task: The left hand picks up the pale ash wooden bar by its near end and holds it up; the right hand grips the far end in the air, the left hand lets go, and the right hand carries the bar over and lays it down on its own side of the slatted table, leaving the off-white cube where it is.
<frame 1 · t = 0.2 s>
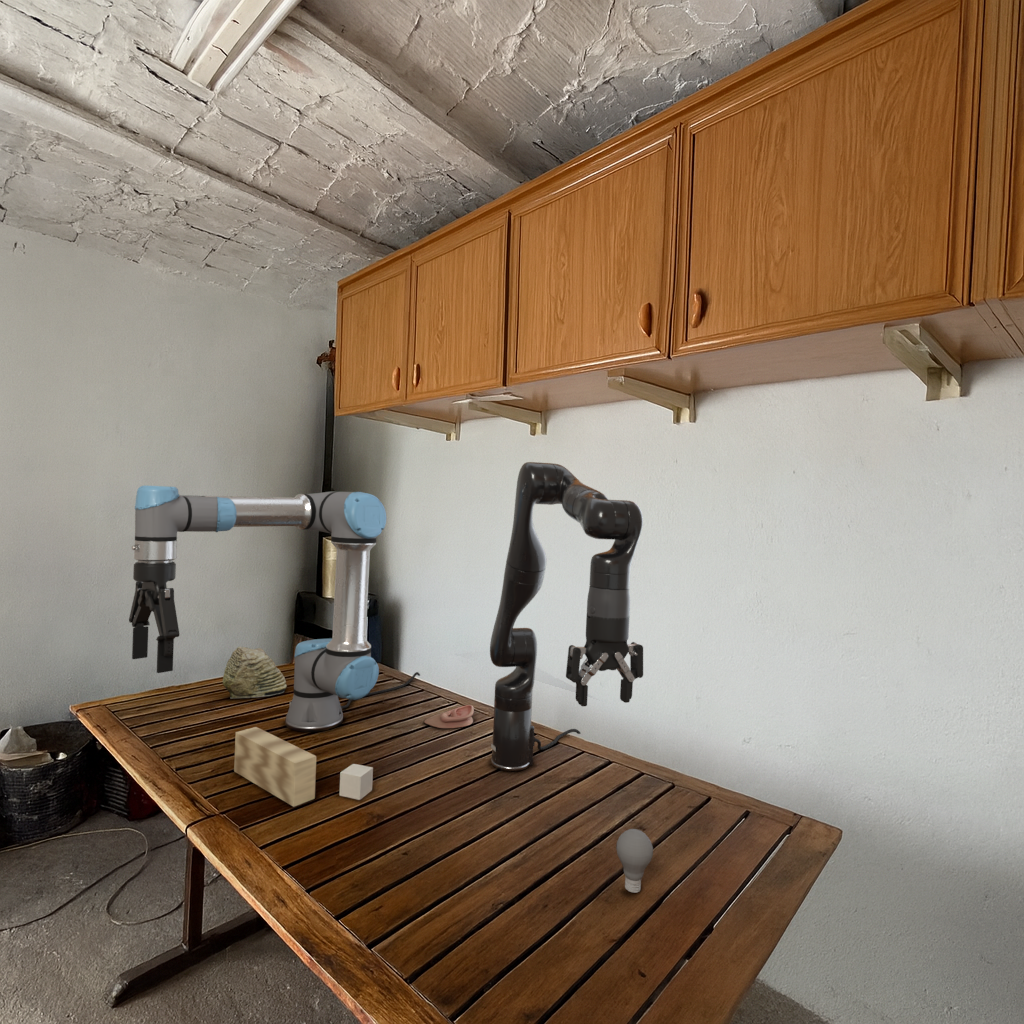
left hand: (151, 664, 130), 27 cm above the table, fingers open, 13 cm apart
right hand: (603, 703, 112), 29 cm above the table, fingers open, 8 cm apart
light bulb: (632, 891, 106), on the table
anatomical model: (449, 722, 181), on the table
fossil: (254, 694, 198), on the table
white cube: (355, 792, 136), on the table
ash bar: (272, 784, 138), on the table
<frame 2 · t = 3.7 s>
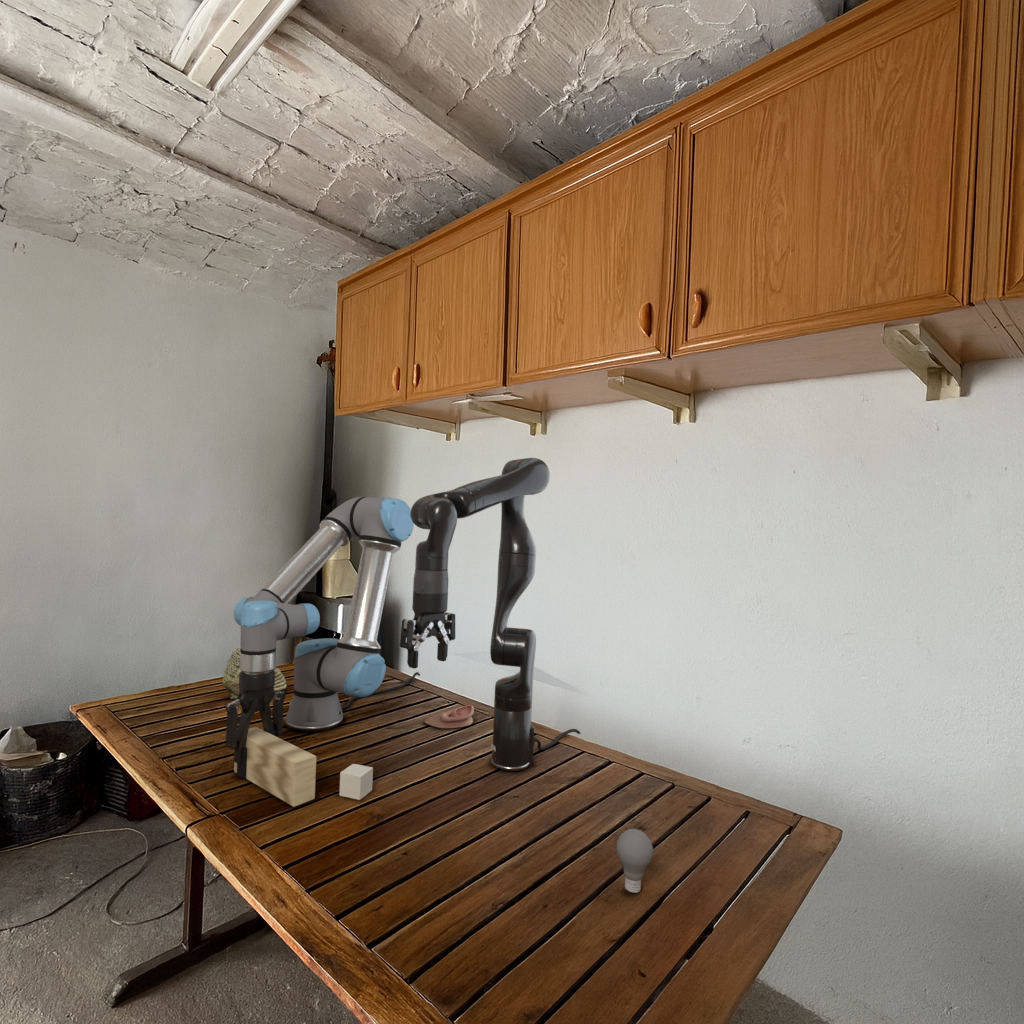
left hand: (253, 772, 143), 0 cm above the table, fingers closed on ash bar, 5 cm apart
right hand: (427, 664, 137), 28 cm above the table, fingers open, 8 cm apart
ash bar: (272, 784, 138), on the table, touching left hand
everything else where it was.
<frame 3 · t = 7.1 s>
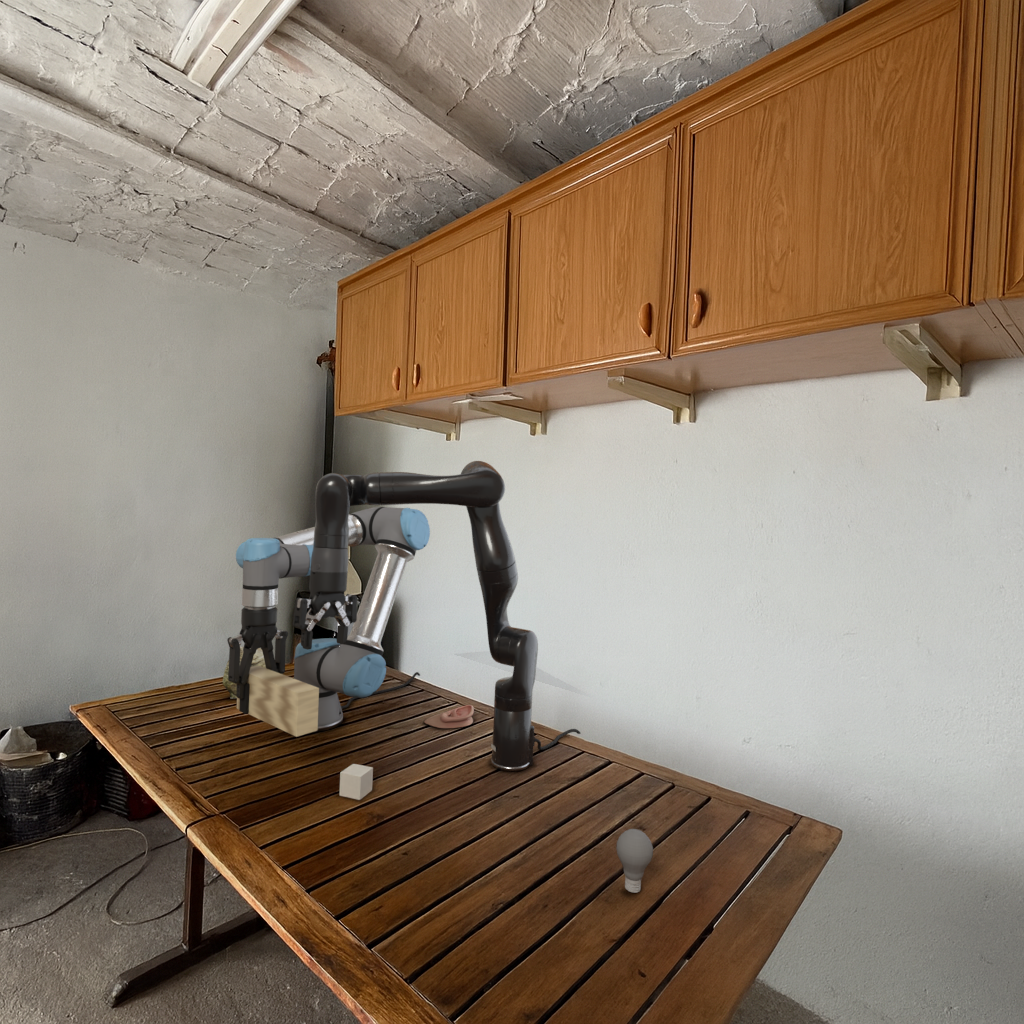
left hand: (256, 708, 143), 15 cm above the table, fingers closed on ash bar, 5 cm apart
right hand: (324, 646, 133), 32 cm above the table, fingers open, 8 cm apart
ash bar: (275, 719, 138), point 14 cm above the table, touching left hand
everything else where it was.
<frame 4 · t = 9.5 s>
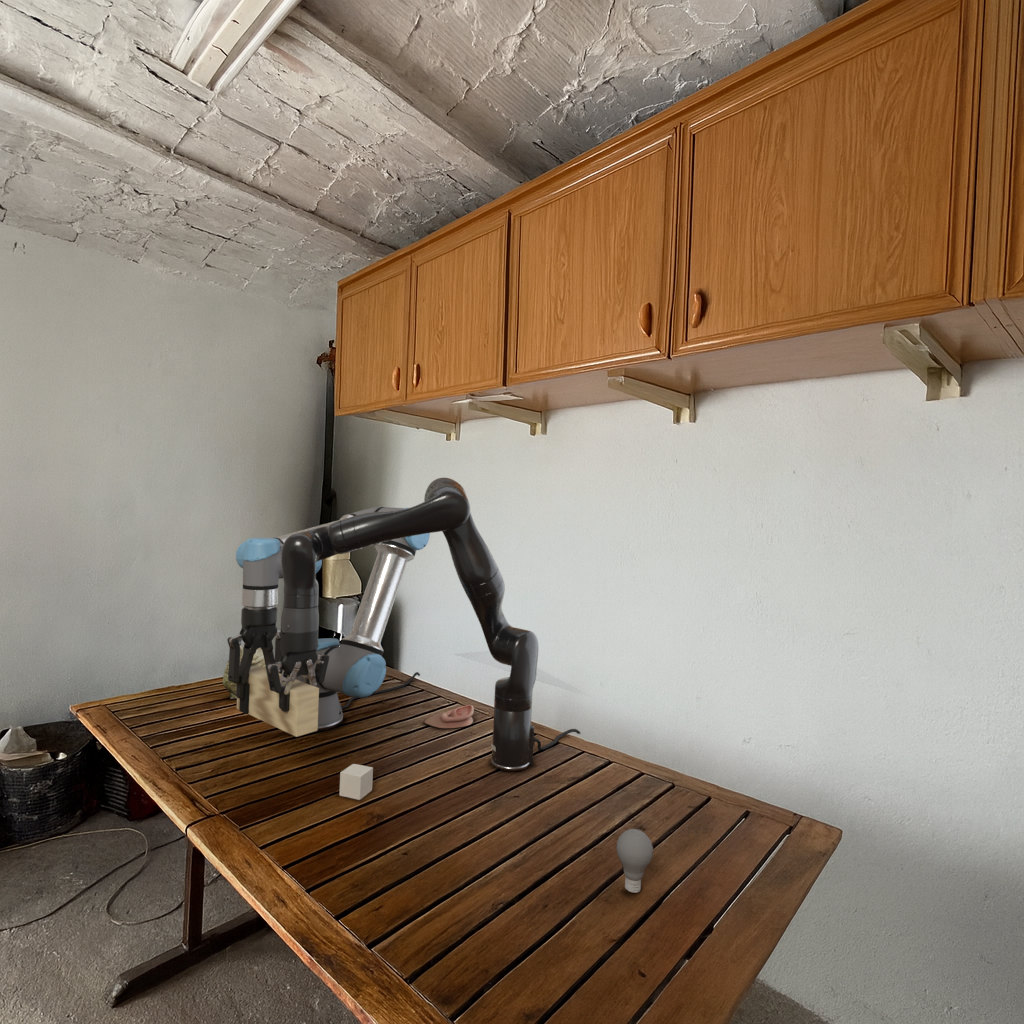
left hand: (256, 708, 143), 15 cm above the table, fingers closed on ash bar, 5 cm apart
right hand: (296, 707, 133), 19 cm above the table, fingers closed on ash bar, 5 cm apart
ash bar: (275, 719, 138), point 14 cm above the table, touching left hand, right hand
everything else where it was.
when the left hand's fingers open (15 cm above the table, at t = 10.5 s): ash bar stays where it is, held by the right hand.
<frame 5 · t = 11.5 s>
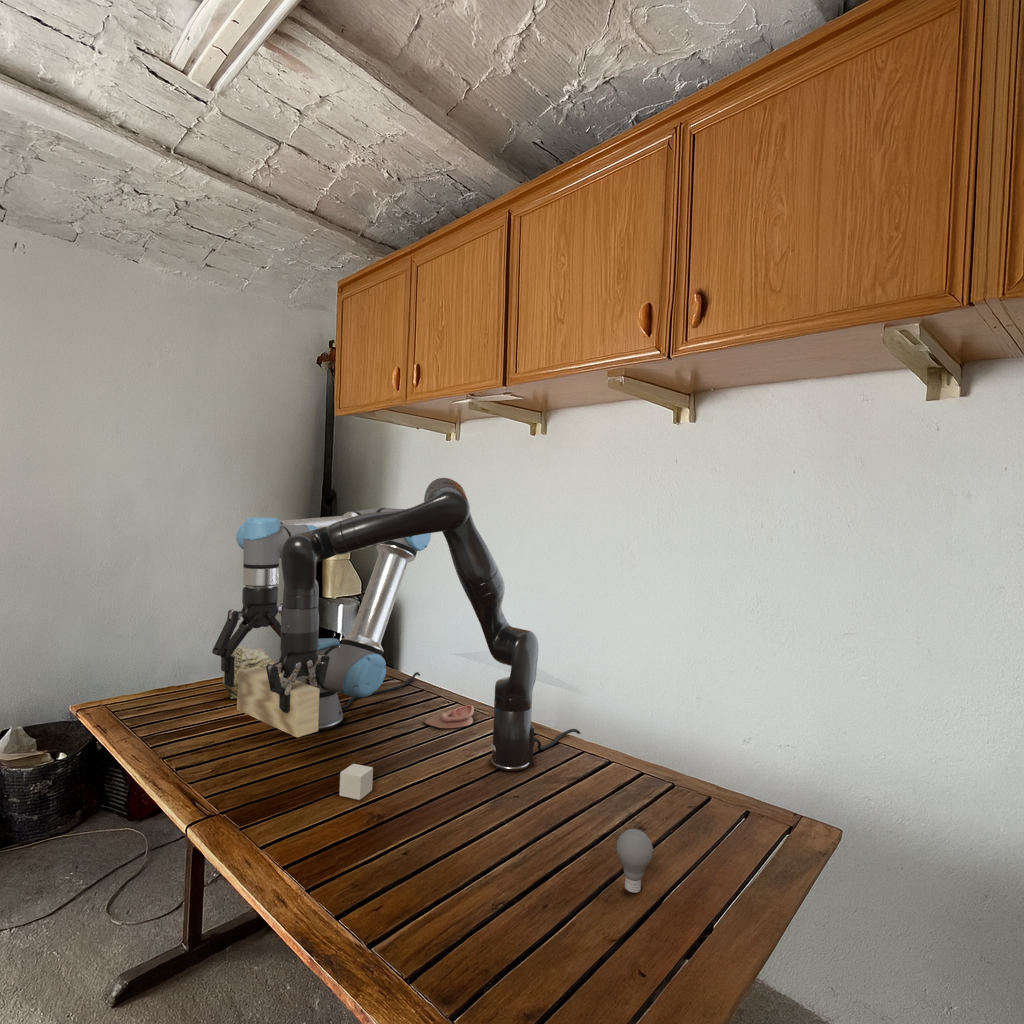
left hand: (258, 679, 143), 21 cm above the table, fingers open, 13 cm apart
right hand: (297, 708, 133), 19 cm above the table, fingers closed on ash bar, 5 cm apart
ash bar: (275, 720, 138), point 14 cm above the table, touching right hand
everything else where it was.
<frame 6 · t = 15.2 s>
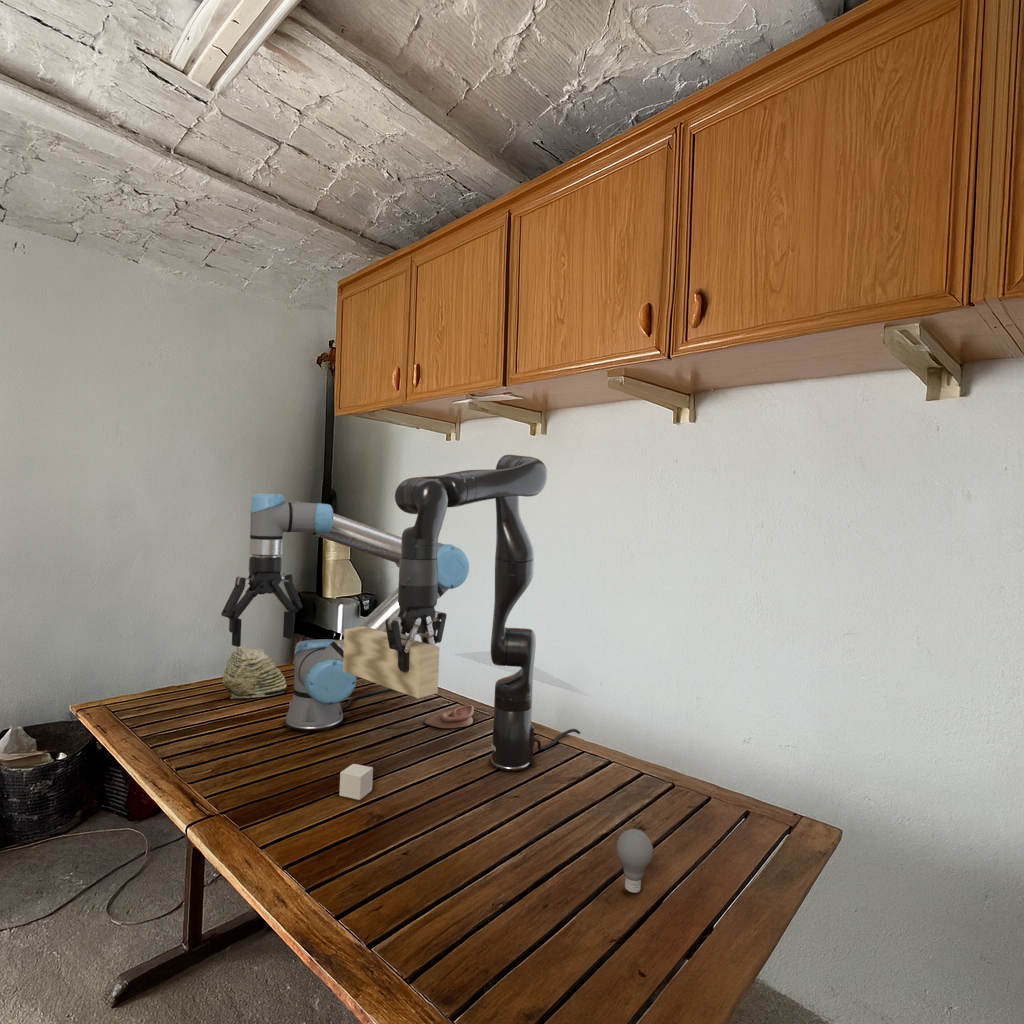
left hand: (262, 641, 157), 27 cm above the table, fingers open, 13 cm apart
right hand: (415, 667, 123), 31 cm above the table, fingers closed on ash bar, 5 cm apart
ash bar: (388, 681, 128), point 27 cm above the table, touching right hand
everything else where it was.
when the right hand's fingers open (7 cm above the table, at t = 20.7 s): ash bar drops 2 cm, on the table.
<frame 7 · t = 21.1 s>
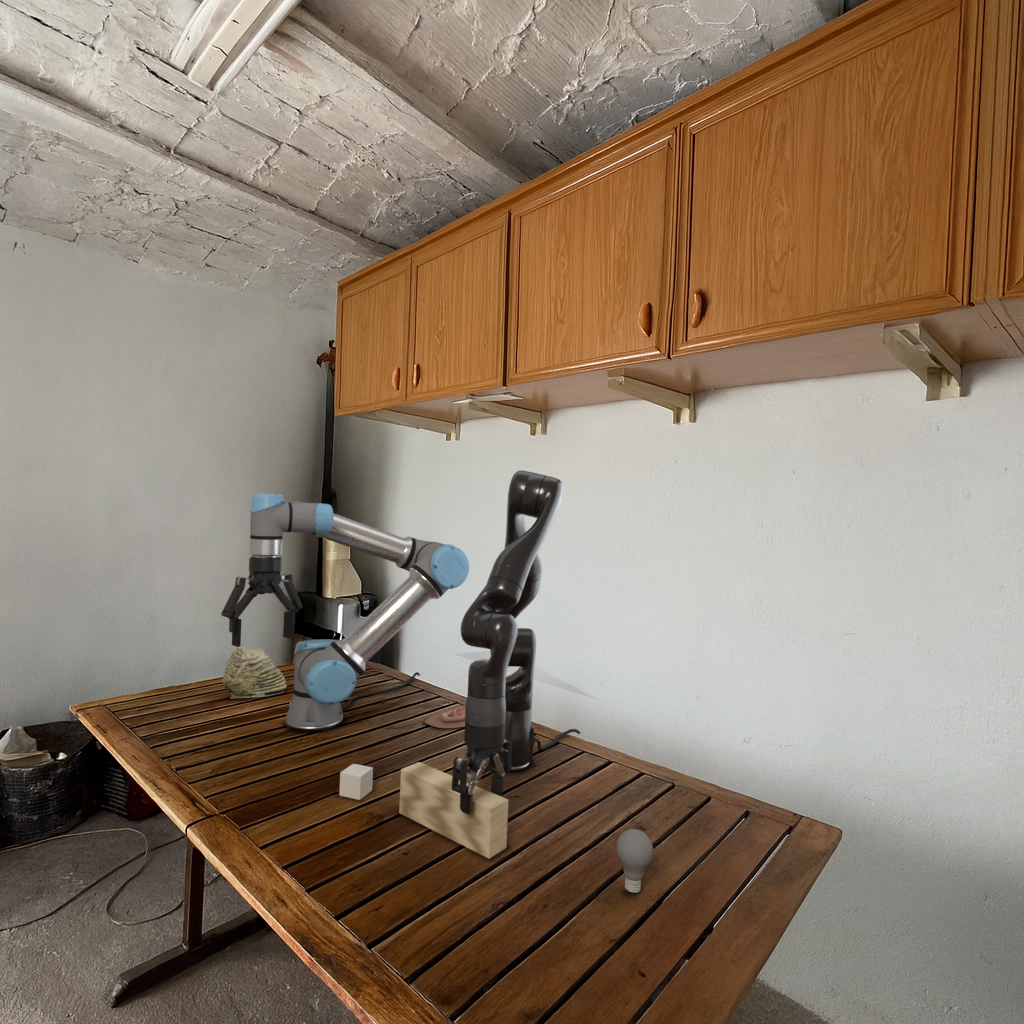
left hand: (262, 641, 157), 27 cm above the table, fingers open, 13 cm apart
right hand: (481, 804, 118), 8 cm above the table, fingers open, 8 cm apart
ash bar: (450, 829, 123), on the table
everything else where it was.
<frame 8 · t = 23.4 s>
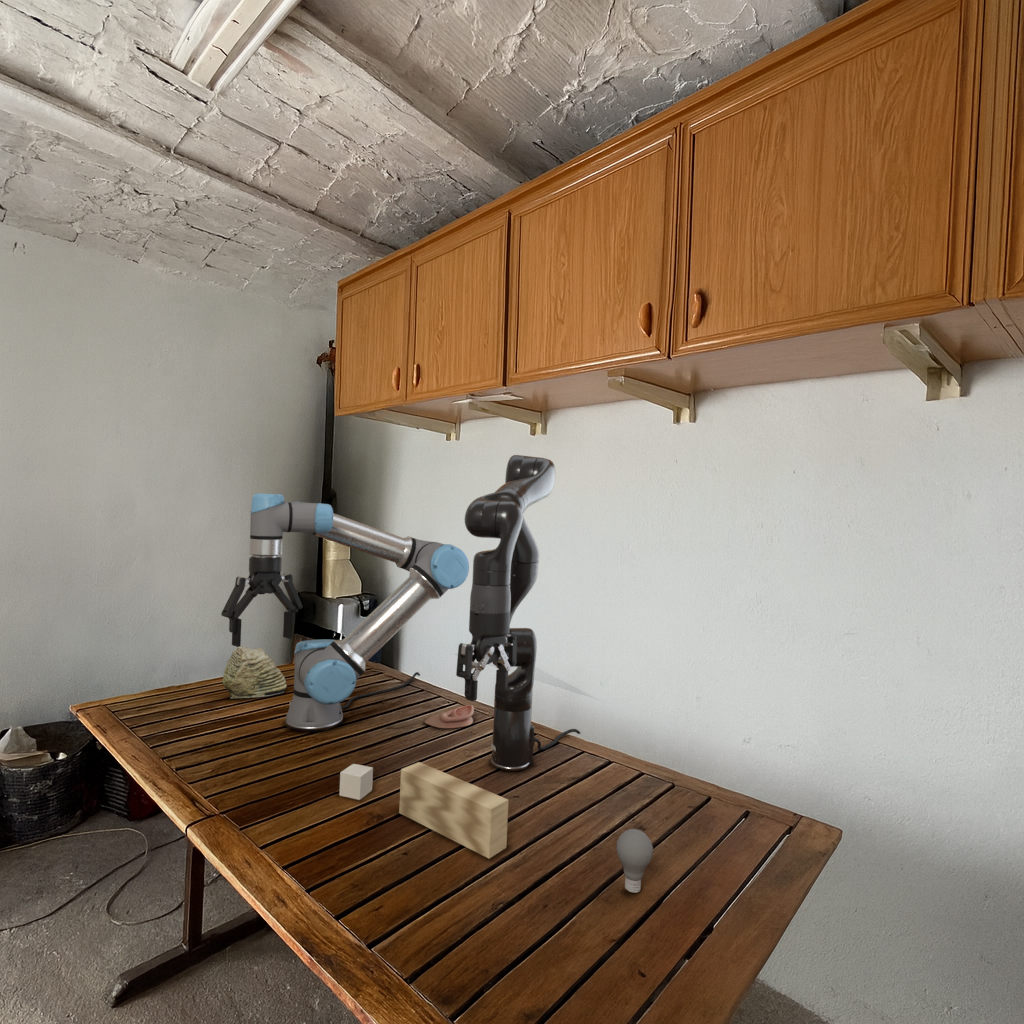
left hand: (262, 641, 157), 27 cm above the table, fingers open, 13 cm apart
right hand: (486, 694, 117), 28 cm above the table, fingers open, 8 cm apart
nothing on the table moved.
at the end: ash bar inside the target area (0.3 cm from its centre), on the table; both hands held the ash bar at the same time; the left hand is holding nothing; the right hand is holding nothing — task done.
